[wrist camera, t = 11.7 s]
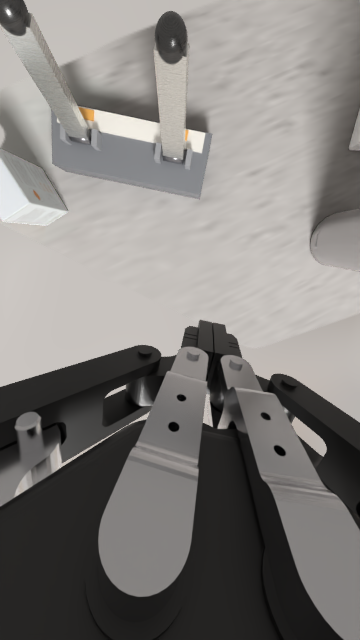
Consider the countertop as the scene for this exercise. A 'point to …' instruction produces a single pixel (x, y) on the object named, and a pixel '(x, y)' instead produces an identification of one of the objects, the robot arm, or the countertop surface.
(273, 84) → the countertop surface
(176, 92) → the lever
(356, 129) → the medicine bottle
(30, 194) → the small box
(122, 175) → the switch console
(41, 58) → the lever
